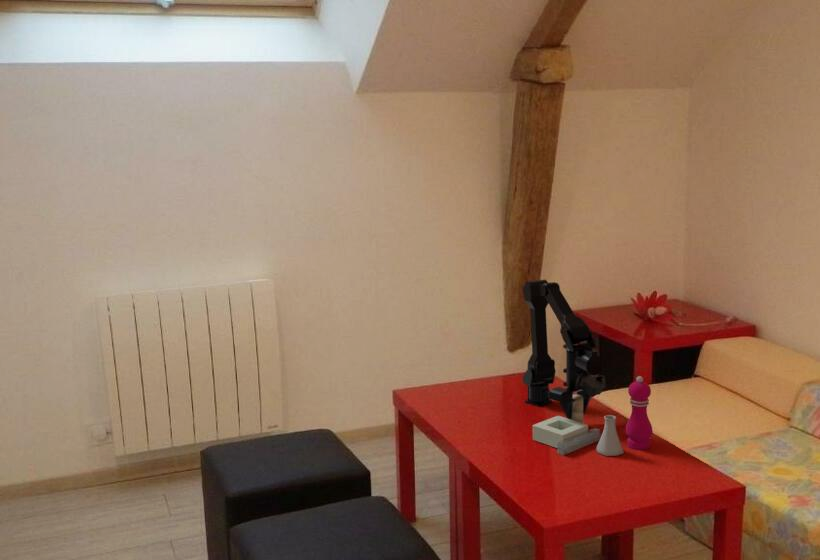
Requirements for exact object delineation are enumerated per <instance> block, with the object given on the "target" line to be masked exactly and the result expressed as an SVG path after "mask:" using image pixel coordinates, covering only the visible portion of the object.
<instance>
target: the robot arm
mask: <svg viewBox="0 0 820 560" xmlns="http://www.w3.org/2000/svg"><path fill="white" fill-rule="evenodd" d="M522 294H523V298H524V302H525V303H526V306H528V308H529V314H530V316H529V317H530V333H531V334H530V335H531V350H532V351H531V355H530V357H529V359H528V361H527V369H526V371H525V373H524V374H523V375H522V376H521V377H522V384H523V385H526V386H527V399H525V400H524V402H525V403H527V404H531V405H533V406H536V407H541V406H544V405H547V404H549V403H550V404H551V403H553V401H556V402H558V403H559V404H560V405H559V406H561V409H562V411H563V412H564V415H565V416H566V418H567V419H571V418H572V407H573V403H574V402H575V401H576V399H573V395H574V394H576V395H582V396H583V415H585V414H586V412H587V409H588V406H589V402H590V400H591V398H594V397H596V396H598V395H601V393H602V391H603V389H606V386H607V385H606V381H607V380H606V377H605V375H602V374H601V375H598V374H600V373H601V372H602V371H603V369H604V367H605V364H604V360H603V358H602V357H601V356H600V355H598V350H595V349H597V345H596V340H595V338H594V336H593V334H592V331H591V328H590V327H589V326H588V324H587V323H586V322H585V320H584V319H583V318H581V317H580V316H578V315H576V314H575V312H574V311H573V309H572V308H571V306H570V304H569V303H568V301H567V299H566V298H565V296H564V295H563V293H562V291H561V288H560V284H559V283H558V282H555V281H553V282H548V280H547V279H538V280H530V281H529V280H528V281H526V282H525V283H524V285H523V286H522ZM548 305H549V307H550V308H551V310H552V312H553V313H554V315H555V316H556V319H557V320H558V322H559V325H560V329H559V330H560V331H559V332H560V334H561V335H560V336H561V338H562V340H563V342H564V344H563V345H562V348H563V349H565V351H566V354H565V356H566V357H565V359H566V361H565V363H566V365H565V366H566V367H565V368H563V370H562V371H563V373H565V374H566V381H563V384H562V385H563V387H560V386H556V387H554V388H551V389H550V385H552V384H554V382H555V381H554V380H555V377H556V367H555V365H556V364H555V359H553V358H552V357H551V356H550V354H549V348H548V347H549V346H548V344H549V343H548V328H547V326H548V325H547V310H546V309H547V307H548ZM596 376H597V377H596ZM564 387H566V388H564Z"/></svg>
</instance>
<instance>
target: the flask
mask: <svg viewBox="0 0 820 560" xmlns="http://www.w3.org/2000/svg"><path fill="white" fill-rule="evenodd" d="M603 418H604V428H603V431H602V434H601V435H600V440H598V443H597V445H596V452H597V454H600V455H603V456H605V457H613V456H619V455H622V454H624V448H623V447H622V444H621V441H620V438H619V435H618V432H617V428H616V427H617V426H616V420H617V417H616V415H612V414H608V415H604V416H603Z"/></svg>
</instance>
